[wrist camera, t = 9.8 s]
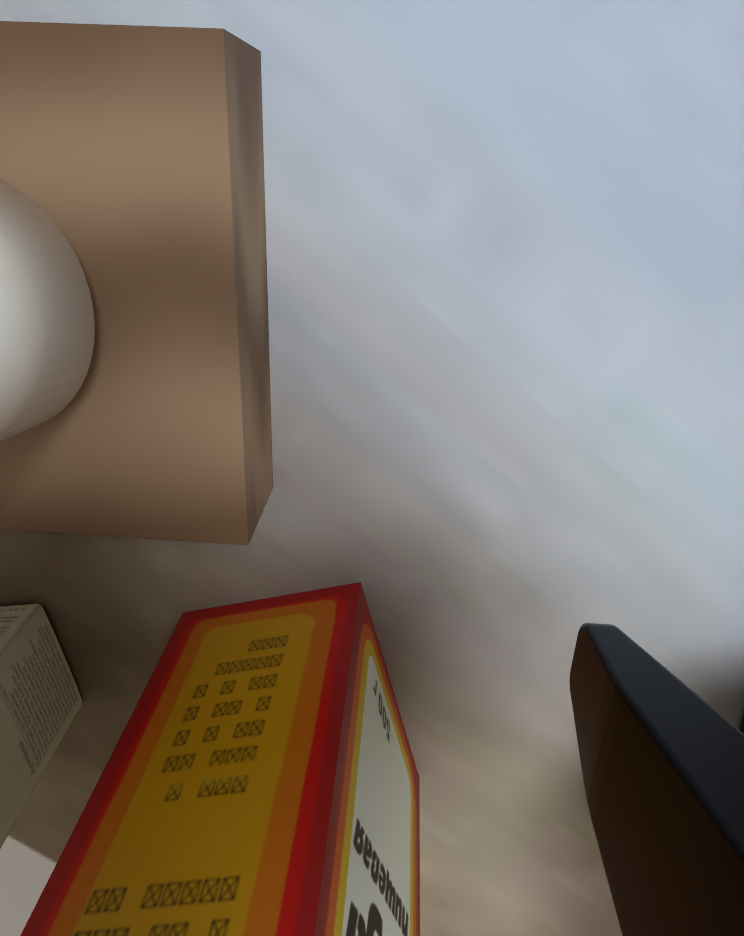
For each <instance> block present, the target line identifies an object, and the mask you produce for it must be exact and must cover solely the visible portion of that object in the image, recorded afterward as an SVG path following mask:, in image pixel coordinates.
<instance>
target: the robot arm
mask: <svg viewBox="0 0 744 936" xmlns="http://www.w3.org/2000/svg"><path fill="white" fill-rule="evenodd" d="M570 692H571V699H572V706H573V712H574V719H575V726H576V733H577V739H578V746H579V753H580V760H581V766H582V773H583V780H584V786H585V792H586V798H587V803H588V807H589V811H590V815H591V820H592V823H593V827H594V831H595V835H596V838H597V842H598V846H599V850H600V853H601V857H602V861H603V865H604V868H605V872H606V876H607V879H608V883H609V887H610V891H611V894H612V898H613V902H614V906H615V909H616V913H617V917H618V920H619V924H620V928H621V932H622V935H623V936H744V718H743V721H742V724H741V726H740V729H739V730H738V729H737V728H736V727H735V726H734V725H732V724H731V723H730V722H729V721H728V720H726V719H725V718H724V717H723V716H722V715H720V714H719V713H718V712H717V711H716V710H715V709H713V708H712V707H711V706H710V705H709V704H707V703H706V702H705V701H704V700H703V699H702V698H700V697H699V696H698V695H697V694H696V693H694V692H693V691H692V690H691V689H690V688H688V687H687V686H686V685H685V684H684V683H683V682H681V681H680V680H679V679H678V678H677V677H675V676H674V675H673V674H672V673H671V672H670V671H668V670H667V669H666V668H665V667H664V666H662V665H661V664H660V663H659V662H658V661H657V660H655V659H654V658H653V657H652V656H651V655H649V654H648V653H647V652H646V651H645V650H643V649H642V648H641V647H640V646H639V645H638V644H636V643H635V642H634V641H633V640H632V639H630V638H629V637H628V636H627V635H626V634H625V633H623V632H622V631H621V630H620V629H619V628H617V627H616V626H614V625H610V624H595V623H585V624H583V625H582V626H581V627H580V629H579V632H578V636H577V641H576V646H575V651H574V656H573V661H572V666H571V671H570Z"/></svg>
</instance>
